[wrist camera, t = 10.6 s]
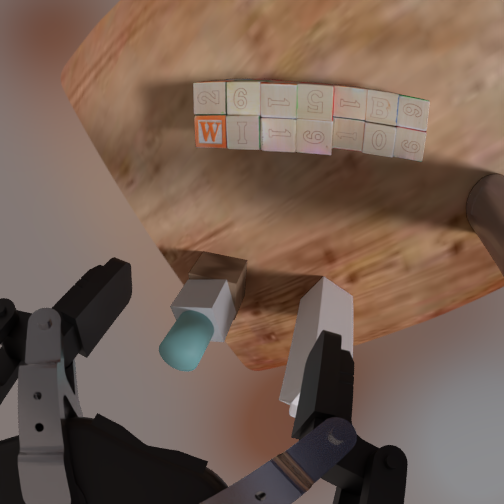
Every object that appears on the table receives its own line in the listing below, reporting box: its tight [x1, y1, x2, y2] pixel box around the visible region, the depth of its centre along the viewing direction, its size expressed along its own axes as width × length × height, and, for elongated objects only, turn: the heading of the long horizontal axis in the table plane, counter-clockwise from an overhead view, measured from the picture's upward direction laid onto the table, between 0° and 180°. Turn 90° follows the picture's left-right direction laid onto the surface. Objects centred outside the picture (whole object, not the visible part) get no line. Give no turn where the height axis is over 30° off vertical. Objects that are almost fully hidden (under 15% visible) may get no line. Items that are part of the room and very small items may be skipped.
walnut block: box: [189, 252, 247, 320], centre depth 48 cm, size 7×7×6 cm
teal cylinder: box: [159, 310, 214, 371], centre depth 38 cm, size 5×5×6 cm
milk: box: [279, 276, 353, 418], centre depth 39 cm, size 6×6×22 cm
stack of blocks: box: [193, 79, 430, 162], centre depth 29 cm, size 21×6×12 cm, turn 90°
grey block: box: [170, 279, 236, 342], centre depth 43 cm, size 6×6×6 cm
